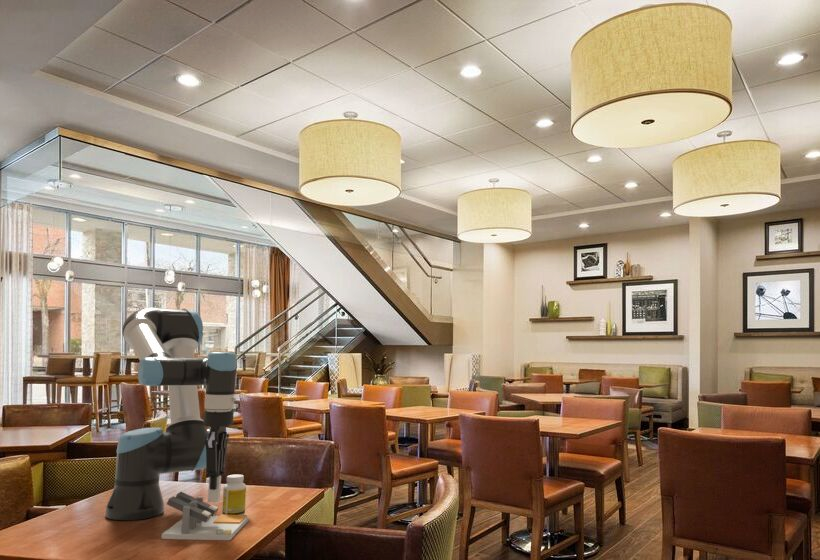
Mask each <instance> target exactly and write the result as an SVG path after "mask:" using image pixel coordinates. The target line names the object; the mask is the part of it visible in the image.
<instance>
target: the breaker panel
mask: <svg viewBox="0 0 820 560" xmlns="http://www.w3.org/2000/svg"><path fill="white" fill-rule="evenodd" d="M195 498H196V499H198V500H201V501H203V502H204V497H198V496H197V497H195ZM189 504H191V505H193V506H195V507H198V501H191V502H190V503H189ZM249 519H250V516H247V515H246V514H244V515H222V514H220V515H214V516H211V517H210V519H209V520H208V521H207V522H206V523H205V522H203V521H201V520H199V519H197V518H195V517H193V516H190V507H185V506H184V507H183V512H182V518H181V519H180V520H179V521H177V522H176V523H174V524H173V525H172V526H170V527H169V528H168V529H166V530H165V531H163V533H161V540H192V541H193V540H194V541H195V540H197V541H199V540H200V541H231V540H232V539H233V538H234V537H235V536H236V535H237V533H239V532H240V531H241V529H242V528H243V527H245V526H246V524H247V523H248V522H249Z"/></svg>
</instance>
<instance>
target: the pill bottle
mask: <svg viewBox="0 0 820 560" xmlns="http://www.w3.org/2000/svg"><path fill="white" fill-rule="evenodd" d="M244 478H245V477H244V475H243V474H234V473H233V474H230V475H227V476H226V484H224V485H223V494H222V515H246V498H247V497H246V496H247V495H246V493H247V485H246V484H245V483H244V480H245V479H244Z"/></svg>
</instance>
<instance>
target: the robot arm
mask: <svg viewBox="0 0 820 560" xmlns="http://www.w3.org/2000/svg"><path fill="white" fill-rule="evenodd" d="M203 331H204V324H203V320H202V317H201V315H200V314H199V312H197V311H195V310H191V309H186V308H181V309H180V308H179V309H178V308H163V307H144V308H141V309H139V310H136V311H134V312H133V313H131V314H130V315H129V316H128V317H127V318H126V319H125V321H124V322H123V325H122V330H121V333H122V336H123V339H124V341H125V342H126V343H127V344H128V345H129V346H131V347H132V348H133V350H134V353H135V354H136V356H137V357H138V360H139V363H138V367H137V379H138V383H139V384H140V385H141V386H144V387H145V386H146V387H147V386H149V387H163V386H164V387H165V386H166V387H168V402H169V415H170V423H169V424H168V425H167V426H166V427H165V431H164V430H163V428H162V427H158V426H157V427H156V426H154V427H143V428H138V429H133V430H130V431H126V432H124V433H122V434H121V435H120V436H119V438H118V442H117V448H116V450H115V451H116V460H115V462H116V463H115V474H114V475H115V476H114V487H113V490H112V492H111V494H110V497H109V500H108V502H107V505H106V506H105V517H106V518H107V519H110V520H115V521H137V520H143V519H150V518H155V517H157V516H160V515H162V514H163V513H164V509H165V502H164V498H163V495H162V491H161V487H160V476H161V474H168V473H179V472H189V471H190V472H194V471H198V470H204V469H206V470H205V471H206V474H205V477H208V488H207V489H208V491H207V492H208V493H207V494H208V495H207V503H219V502H220V501H221V487H222V485H221V483H222V476H223V475H224V476H225V474H226V472H225V471H224V470H225V466H226V457H227V456H226V455H227V448H228V441H229V438H230V434H229V433H228V431H227V427H229V426H232V425H233V424H234V413H235V412H234V410H233V409H234V408H235V402H236V401H237V398H236V397H235V390H236V377H237V368H238V364H237V362H238V361H237V354H236V353H235V352H232V351H231V352H229V351H210V352H209V353H208V355H207V357H195V351H196V350H197V349H198V347H199V344H201V342H202V341H203V338H204V333H203ZM198 386H205V393H204V394H205V395H204V396H205V397H204V408H203V409H205V411H204V412H203V419H202V417H201V411H200V400H199V392H198V391H199V390H198ZM207 427H210V428H207Z"/></svg>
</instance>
